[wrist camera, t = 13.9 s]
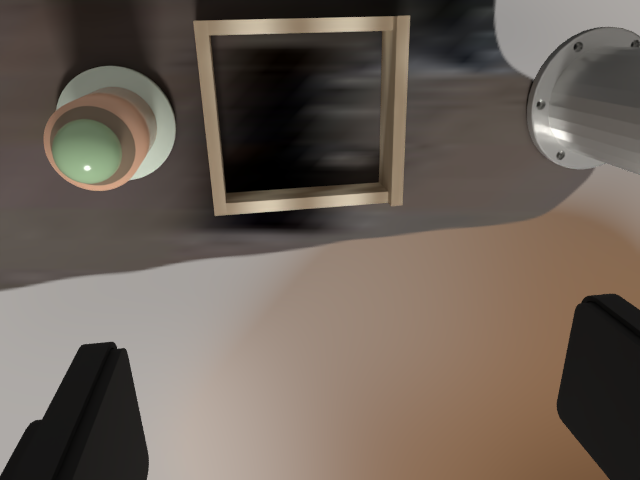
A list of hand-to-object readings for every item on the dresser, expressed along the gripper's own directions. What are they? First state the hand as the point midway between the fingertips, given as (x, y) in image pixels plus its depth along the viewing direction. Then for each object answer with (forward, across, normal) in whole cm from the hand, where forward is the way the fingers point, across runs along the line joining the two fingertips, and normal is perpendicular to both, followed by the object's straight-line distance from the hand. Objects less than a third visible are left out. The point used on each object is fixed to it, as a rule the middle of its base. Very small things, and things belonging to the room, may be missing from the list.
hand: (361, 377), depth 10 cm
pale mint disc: (+35, +12, 0) cm, 37 cm away
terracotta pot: (+34, +12, 0) cm, 36 cm away
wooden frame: (+36, -2, 0) cm, 36 cm away
